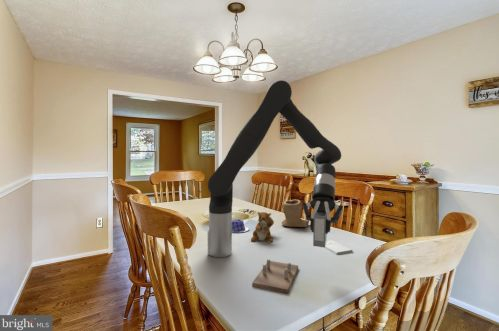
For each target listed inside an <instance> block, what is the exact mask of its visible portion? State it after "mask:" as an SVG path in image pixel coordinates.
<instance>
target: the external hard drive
mask: <svg viewBox="0 0 499 331" xmlns="http://www.w3.org/2000/svg"><path fill="white" fill-rule="evenodd" d="M324 249H326V250H328V251H329V252H331V253H333V254H335V255H342V254H343V255H344V254H349V253H350V254H351V253H353V252H354V250H353V249H351V248H349V247H348V246H345V245H343V244H341V243H340V242H337V241H335V240H334V239H333V240H332V239H331V240H326V245H325V248H324Z"/></svg>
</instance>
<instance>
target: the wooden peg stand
mask: <svg viewBox="0 0 499 331" xmlns="http://www.w3.org/2000/svg"><path fill="white" fill-rule="evenodd" d="M298 270H299V265H297V264H292V263H291V262H287V263H285V262H281V261H273V260H271V259H270V258H269V259H266V263H265V264H262V269H261V270H260V272H259V273H258V274H257V276H256V277H255V278H254V279H253V281H252V287H254V288H260V289H263V288H264V289H265V290H268V289H269V291H272V292H273V291H274V292H278V293H282V294H283V293H284V294H288V293H289V291H290V289H291V287H292V285H293V282H294V279H295V277H296V276H297V272H298Z"/></svg>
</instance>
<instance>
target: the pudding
mask: <svg viewBox="0 0 499 331" xmlns="http://www.w3.org/2000/svg"><path fill="white" fill-rule="evenodd" d="M247 231H249V227H247V226H245V223H244V220H242V219H238V218H237V219H232V233H245V232H247Z"/></svg>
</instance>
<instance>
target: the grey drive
mask: <svg viewBox="0 0 499 331" xmlns="http://www.w3.org/2000/svg"><path fill="white" fill-rule="evenodd" d="M326 221H327V213H326V212H319V211H317V212H315V214H314V232H312V234H313V235H312V236H313V238H312V239H313V240H312V241H313V242H312V243H313V244H312V246H313V247H318V248H324V249H326V248H325V245H326V241H327V237H328V236H327V235H328V234H326V232H325V230H326Z"/></svg>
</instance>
